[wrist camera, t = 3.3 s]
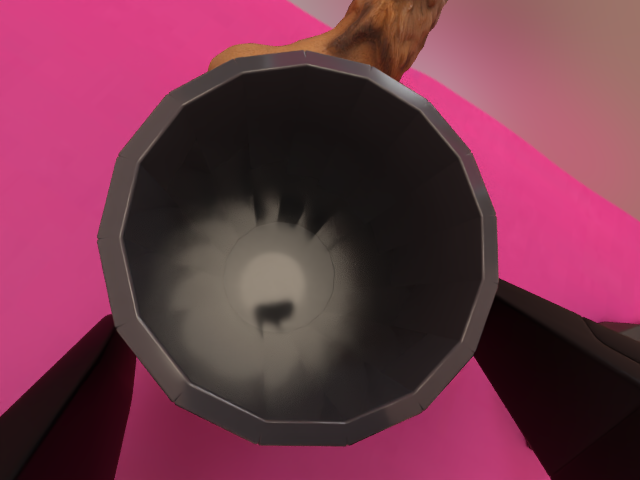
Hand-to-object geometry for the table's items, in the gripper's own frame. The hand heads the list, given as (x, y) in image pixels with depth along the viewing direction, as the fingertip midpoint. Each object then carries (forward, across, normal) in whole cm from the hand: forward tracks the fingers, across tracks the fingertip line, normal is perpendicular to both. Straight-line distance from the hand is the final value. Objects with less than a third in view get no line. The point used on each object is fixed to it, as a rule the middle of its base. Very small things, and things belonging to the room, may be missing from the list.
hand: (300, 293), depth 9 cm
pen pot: (+7, 0, +5) cm, 9 cm away
